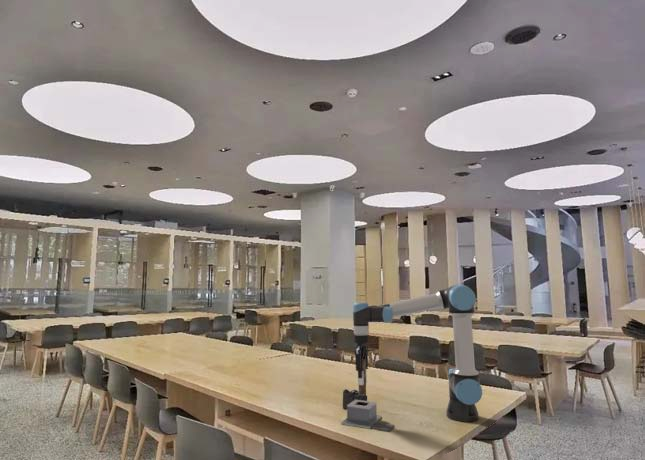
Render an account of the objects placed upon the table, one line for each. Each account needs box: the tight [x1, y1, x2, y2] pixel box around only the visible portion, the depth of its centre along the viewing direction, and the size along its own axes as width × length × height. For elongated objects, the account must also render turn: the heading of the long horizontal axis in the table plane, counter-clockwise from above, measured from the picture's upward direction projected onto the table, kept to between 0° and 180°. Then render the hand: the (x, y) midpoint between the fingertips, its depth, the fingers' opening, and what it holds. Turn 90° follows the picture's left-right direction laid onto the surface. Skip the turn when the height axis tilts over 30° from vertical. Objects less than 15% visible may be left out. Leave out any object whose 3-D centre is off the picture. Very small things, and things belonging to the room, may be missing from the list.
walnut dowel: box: [358, 359, 367, 395], centre depth 196 cm, size 4×4×16 cm
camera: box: [342, 388, 368, 411], centre depth 212 cm, size 14×11×10 cm
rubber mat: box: [371, 421, 395, 433], centre depth 184 cm, size 8×8×1 cm
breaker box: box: [341, 400, 382, 429], centre depth 194 cm, size 14×18×8 cm
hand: (362, 383), depth 196 cm, fingers closed on walnut dowel, 3 cm apart
